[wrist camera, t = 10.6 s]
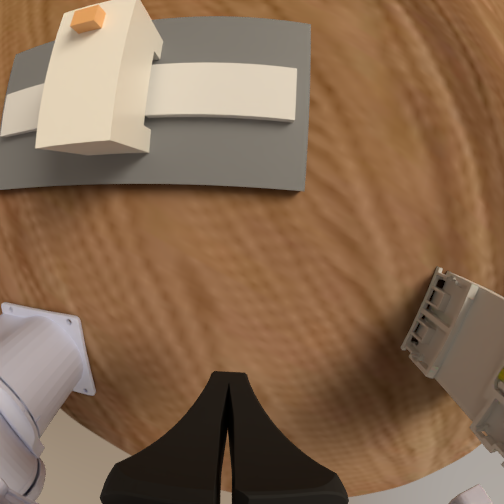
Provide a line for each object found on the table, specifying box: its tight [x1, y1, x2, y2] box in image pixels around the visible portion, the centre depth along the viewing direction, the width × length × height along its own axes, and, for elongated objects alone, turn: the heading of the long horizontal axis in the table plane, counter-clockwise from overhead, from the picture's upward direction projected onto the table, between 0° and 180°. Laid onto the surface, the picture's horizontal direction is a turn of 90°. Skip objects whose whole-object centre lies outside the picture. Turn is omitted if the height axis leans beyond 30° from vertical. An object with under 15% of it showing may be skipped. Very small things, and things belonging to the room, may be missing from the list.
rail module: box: [35, 0, 163, 155], centre depth 13 cm, size 4×8×7 cm, turn 176°
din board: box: [0, 16, 311, 191], centre depth 16 cm, size 24×12×2 cm, turn 86°
